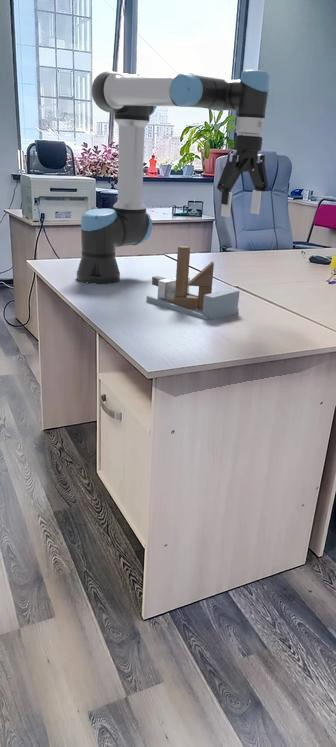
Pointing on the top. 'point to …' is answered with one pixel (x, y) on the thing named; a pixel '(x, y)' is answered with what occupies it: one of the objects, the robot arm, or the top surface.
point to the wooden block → (191, 281)
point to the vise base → (208, 304)
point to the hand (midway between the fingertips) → (240, 215)
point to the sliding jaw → (166, 288)
